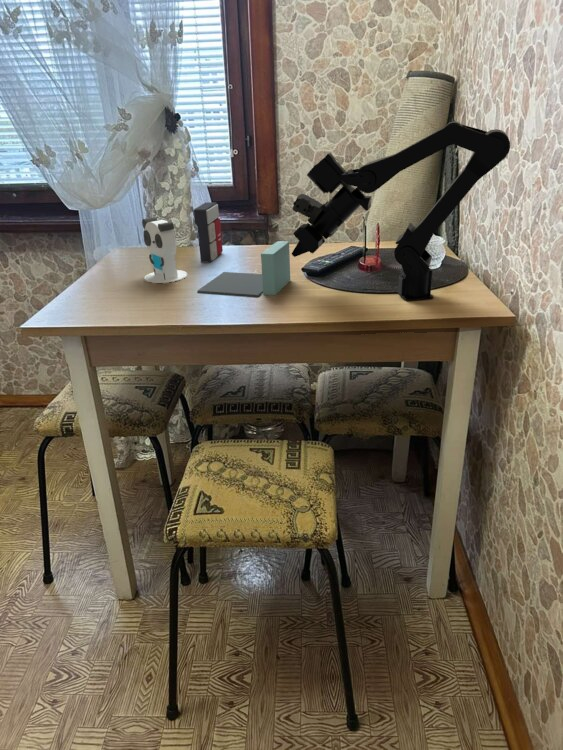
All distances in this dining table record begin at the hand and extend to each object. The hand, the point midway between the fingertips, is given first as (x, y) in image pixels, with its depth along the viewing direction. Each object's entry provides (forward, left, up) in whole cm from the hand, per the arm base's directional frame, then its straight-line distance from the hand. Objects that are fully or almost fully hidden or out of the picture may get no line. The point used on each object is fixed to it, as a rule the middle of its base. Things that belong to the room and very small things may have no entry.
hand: (293, 255), depth 136 cm
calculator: (+19, -35, -8) cm, 41 cm away
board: (+4, -2, -8) cm, 9 cm away
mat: (+13, -7, -8) cm, 17 cm away
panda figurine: (+32, -19, -8) cm, 38 cm away
